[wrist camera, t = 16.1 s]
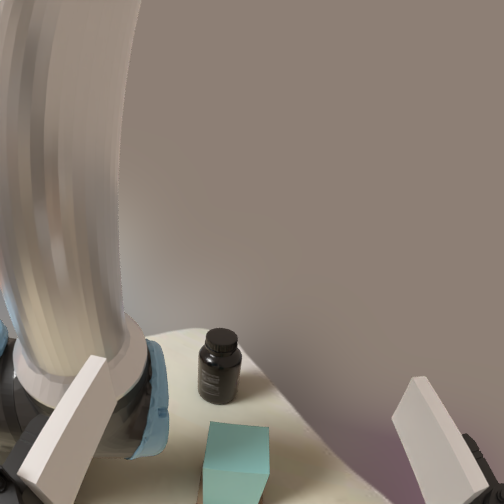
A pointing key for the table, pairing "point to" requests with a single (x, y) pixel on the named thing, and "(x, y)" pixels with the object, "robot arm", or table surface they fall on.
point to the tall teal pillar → (235, 464)
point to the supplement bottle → (219, 366)
